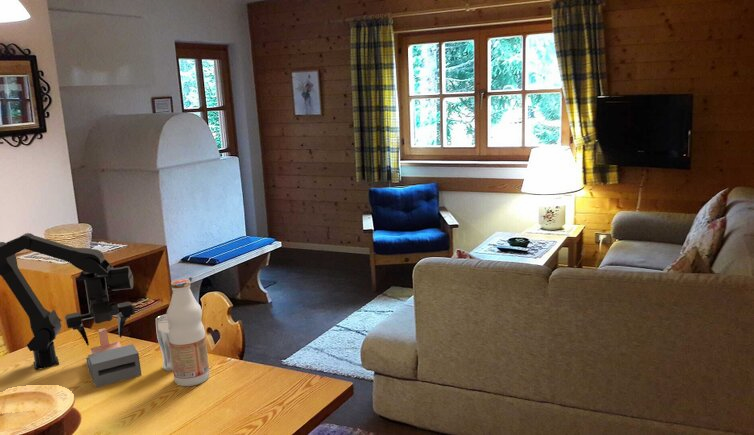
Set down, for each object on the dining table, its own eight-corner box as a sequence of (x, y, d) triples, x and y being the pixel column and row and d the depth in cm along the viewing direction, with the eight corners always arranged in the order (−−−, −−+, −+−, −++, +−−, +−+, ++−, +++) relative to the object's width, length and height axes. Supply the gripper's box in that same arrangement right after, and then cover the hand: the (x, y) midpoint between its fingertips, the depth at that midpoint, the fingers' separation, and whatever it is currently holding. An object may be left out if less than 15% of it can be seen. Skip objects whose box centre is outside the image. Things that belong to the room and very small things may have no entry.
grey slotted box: (87, 367, 182) (84, 346, 181) (130, 356, 188) (127, 335, 187) (95, 387, 169) (92, 364, 167) (141, 375, 175) (138, 352, 173)
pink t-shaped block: (90, 348, 188) (87, 332, 187) (118, 341, 192) (115, 325, 191) (98, 366, 174) (95, 349, 173) (128, 359, 178) (126, 342, 177)
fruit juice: (181, 390, 164) (168, 289, 158) (169, 378, 171) (157, 281, 166) (215, 379, 169) (204, 281, 164) (202, 368, 177) (191, 274, 171)
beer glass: (190, 361, 182) (184, 312, 179) (180, 371, 176) (174, 321, 173) (167, 361, 183) (161, 313, 180) (157, 371, 176) (150, 322, 173)
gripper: (65, 306, 174) (73, 358, 177) (135, 291, 183) (141, 341, 186) (61, 296, 183) (69, 345, 186) (127, 283, 193) (134, 330, 196)
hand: (104, 341), depth 188 cm, fingers open, 9 cm apart
